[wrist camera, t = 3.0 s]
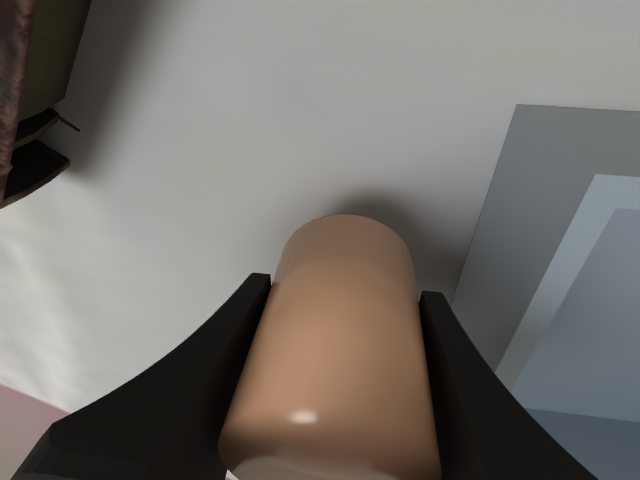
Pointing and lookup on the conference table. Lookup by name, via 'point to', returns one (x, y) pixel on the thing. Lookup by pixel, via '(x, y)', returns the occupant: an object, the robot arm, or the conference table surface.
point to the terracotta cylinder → (336, 365)
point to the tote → (564, 280)
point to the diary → (34, 88)
